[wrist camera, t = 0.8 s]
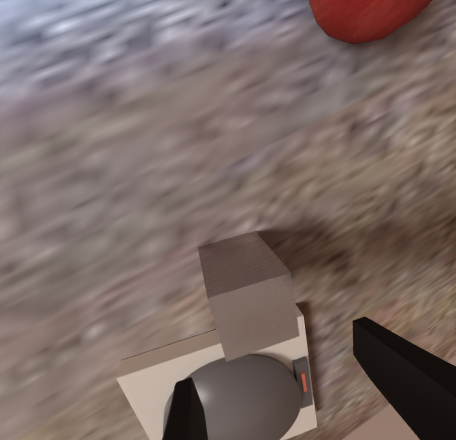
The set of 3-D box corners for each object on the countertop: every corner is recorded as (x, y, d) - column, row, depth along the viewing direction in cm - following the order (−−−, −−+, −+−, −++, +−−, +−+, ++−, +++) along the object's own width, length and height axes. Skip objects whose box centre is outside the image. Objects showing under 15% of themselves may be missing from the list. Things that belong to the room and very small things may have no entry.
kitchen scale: (174, 464, 24) (174, 499, 22) (120, 360, 19) (112, 391, 16) (309, 411, 26) (322, 438, 23) (294, 303, 20) (309, 324, 18)
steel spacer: (211, 295, 19) (226, 361, 13) (197, 247, 17) (207, 298, 11) (264, 279, 19) (299, 336, 14) (255, 230, 18) (291, 272, 12)
